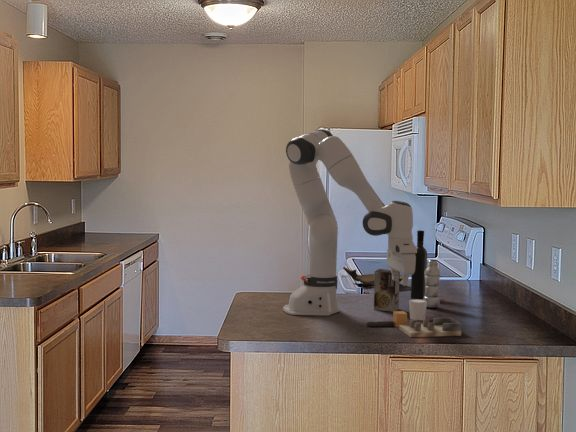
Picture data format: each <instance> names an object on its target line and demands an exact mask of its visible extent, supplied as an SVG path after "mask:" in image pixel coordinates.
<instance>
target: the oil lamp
mask: <svg viewBox="0 0 576 432" xmlns="http://www.w3.org/2000/svg"><path fill="white" fill-rule="evenodd" d="M343 270H344V271H345V273H347V274H348V275H349V276H350V278H351V279H353V281H355V282H360V283H362V284H364V285H366V286H370V287H373V288H374V286H375V273H368V274H367V273H366V274H357V269H349V268H348V267H345V266H344V267H343ZM402 278H403V276H402V274H400V281H399V283H400V282H401V280H402Z"/></svg>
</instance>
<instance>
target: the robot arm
mask: <svg viewBox="0 0 576 432" xmlns="http://www.w3.org/2000/svg"><path fill="white" fill-rule="evenodd" d="M285 153H286V157H287V159H288V161H289V163H288V168H289V174H290V179H291V182H292V185H293V187H294V190H295V193H296V196H297V198H298V201H299V204H300V207H301V208H302V211H303V213H304V216H305V218H306V221H307V223H308V226H309V230H308V231H309V232H308V233H309V235H308V236H309V237H308V238H309V240H308V242H309V243H308V244H309V245H308V247H309V250H308V253H309V254H308V255H309V256H308V275H305V274H302V275H300V279H301V281H303V284H302V285H301V286H299V288H297V289H296V290H294V291H293V292H292V293H291V294H290V295H289V300H288V304H285V305H284V306H283V308H282V310H283V311H284V313H286V314H288V315H292V316H325V317H326V316H330V315H333V314H337V313H338V312H340V308H339V302H338V297H337V290H338V275H337V261H338V257H337V256H338V234H339V232H338V230H339V228H338V221H337V218H336V216H335V212H334V211H333V208H332V206H331V203H330V201H329V197H328V194H327V193H326V189H325V187H324V184H323V181H322V179H321V176H320V173H319V171H318V168H317V166H318V165H317V163H318V161H320V162H322V164H323V165H324V166H325V169H326V170H327V172H328V173H329V175H330V176H331V178H332V179H333V181H334V182H335V183H336V184H337V185H338V186H340V187H342V188H345V189H347V190H349V191H351V192H353V193H354V194H355V195H356V196H357V197H358V199H359V200H360V202H361V203H362V205H363V206H364V207H365V209H366V210H367V213H366V214H365V215H364V216H363V219H362V227H363V230H364V231H365V232H366V233H367V234H368V235H370V236H374V237H378V236H383V235H387V236H388V237H387V238H388V239H387V249H386V261H385V262H386V266H387V268H390V270H391V273H392V280H394V281H397V280H398V276H397V271H399V272H400V274H401V275H402V276H403V278H402V280H401V281H400V282H401V284H400V285H402V286H403V287H405V286H408V280H409V278H410V275H412V274H414V272H415V264H416V256H415V253H417V245H415V243H414V241H413V239H414V238H413V233H412V232H413V227H414V217H413V216H414V215H413V208H412V206H411V205H410V204H409V203H408V202H404V201H401V200H392V201H390V202H389V203H388V204H386V205H385V203H383V201H382V200H381V199H380V197H379V196H378V194H377V193H376V192H375V190H374V189H373V187H372V186H371V184H370V183H369V182H368V180H367V178H366V177H365V175H364V173H363V171H362V169H361V167H360V164H359V163H358V162H357V160H356V158H355V156H354V155H353V152H352V151H351V150H350V148H348V147H347V145H346V144H345V142H343V140H342V139H341V138H340V137H338V136H336V135H333V134H332V132H330V131H329V130H326V129H317V130H313V131H309V132H305V133H304V134H302V135H301V134H300V136H296V137H294V138H292V139H290V141H288V143H287V144H286V147H285Z"/></svg>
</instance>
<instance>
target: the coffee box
mask: <svg viewBox="0 0 576 432" xmlns="http://www.w3.org/2000/svg"><path fill="white" fill-rule="evenodd" d="M374 274H375V286H374V287H373V289H374V292H373V295H374V296H373V310H374V311H383V312H390V313H391V312H392V313H393V311H399V309H400V308H399V307H400V282H401V281H400V275H401V272H399V271H397V276H398V280H397V281H394V280H392V273H391V269H387V268H385V269H384V268H378V269H377V270H374ZM399 281H400V282H399Z"/></svg>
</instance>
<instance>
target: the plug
mask: <svg viewBox="0 0 576 432" xmlns="http://www.w3.org/2000/svg"><path fill="white" fill-rule="evenodd" d="M399 325H408V313H407V312H406V311H403V310H397V311H393V312H392V320H391V321H390V320H388V321H387V320H386V321H383V320H382V321H367V322H366V327H368V328H369V327H371V328H375V327H395V328H399Z"/></svg>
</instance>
